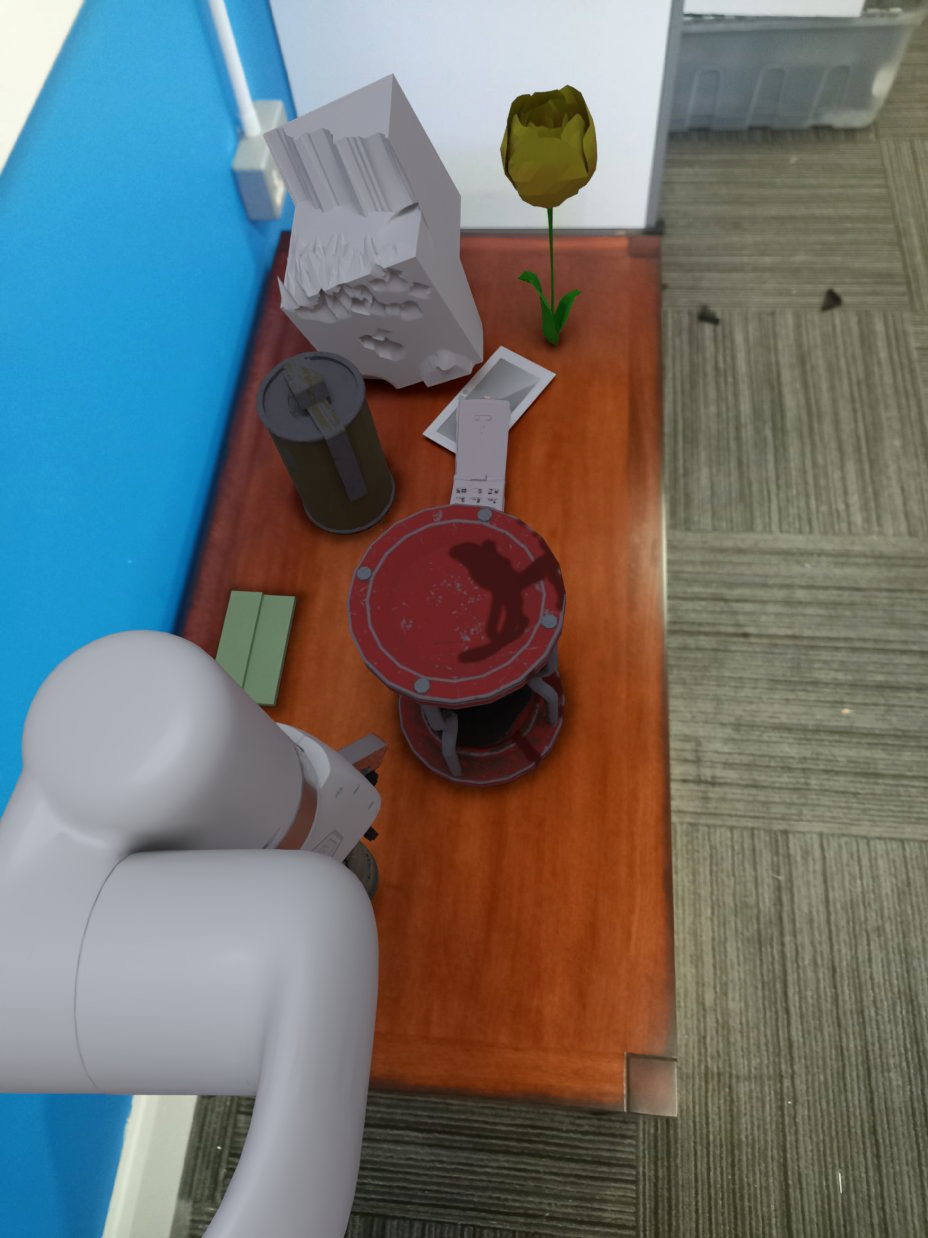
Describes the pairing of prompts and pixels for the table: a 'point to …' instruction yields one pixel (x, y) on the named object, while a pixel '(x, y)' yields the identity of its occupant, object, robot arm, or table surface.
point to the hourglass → (465, 638)
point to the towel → (256, 642)
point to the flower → (549, 169)
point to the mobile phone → (481, 452)
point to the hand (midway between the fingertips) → (325, 862)
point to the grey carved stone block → (376, 240)
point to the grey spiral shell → (363, 867)
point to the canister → (327, 440)
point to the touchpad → (494, 391)
